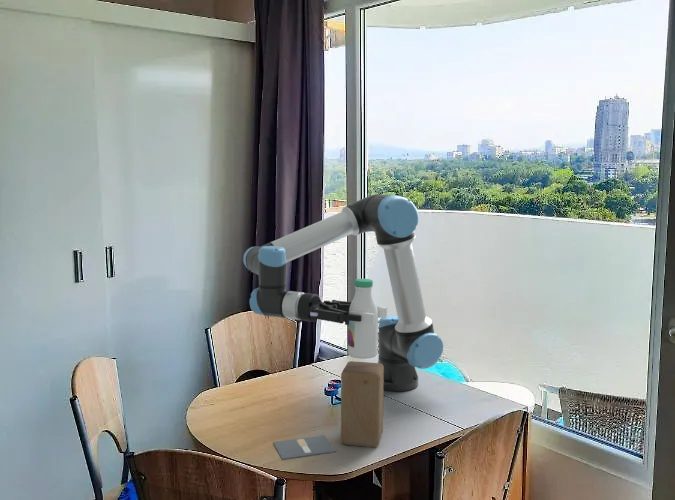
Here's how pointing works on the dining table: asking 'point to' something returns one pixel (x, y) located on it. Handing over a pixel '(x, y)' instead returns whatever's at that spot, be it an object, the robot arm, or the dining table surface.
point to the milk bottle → (359, 334)
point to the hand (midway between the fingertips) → (380, 316)
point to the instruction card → (304, 447)
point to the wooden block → (362, 403)
